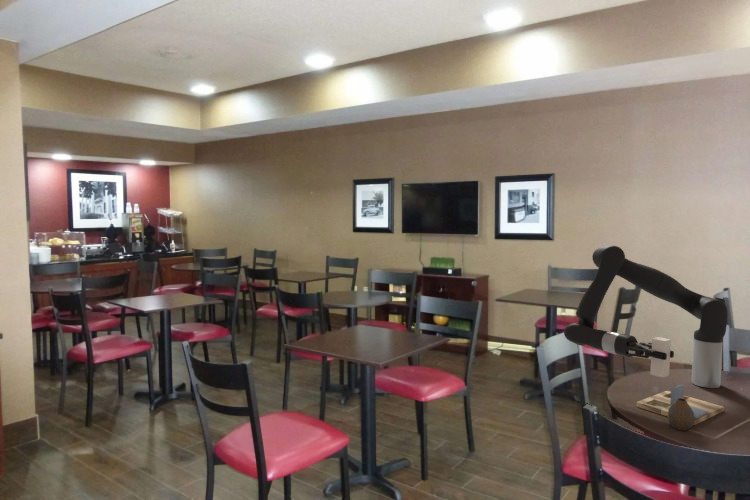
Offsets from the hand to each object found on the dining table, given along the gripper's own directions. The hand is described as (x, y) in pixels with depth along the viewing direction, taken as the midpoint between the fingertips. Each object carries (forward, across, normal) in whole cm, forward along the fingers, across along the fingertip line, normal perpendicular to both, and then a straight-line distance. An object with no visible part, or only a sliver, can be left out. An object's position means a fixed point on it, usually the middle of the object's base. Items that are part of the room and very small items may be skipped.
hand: (669, 355), depth 165 cm
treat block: (-3, 0, +7) cm, 8 cm away
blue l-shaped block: (+6, 0, +16) cm, 18 cm away
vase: (+9, -9, +19) cm, 23 cm away
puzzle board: (+1, +6, +19) cm, 20 cm away
